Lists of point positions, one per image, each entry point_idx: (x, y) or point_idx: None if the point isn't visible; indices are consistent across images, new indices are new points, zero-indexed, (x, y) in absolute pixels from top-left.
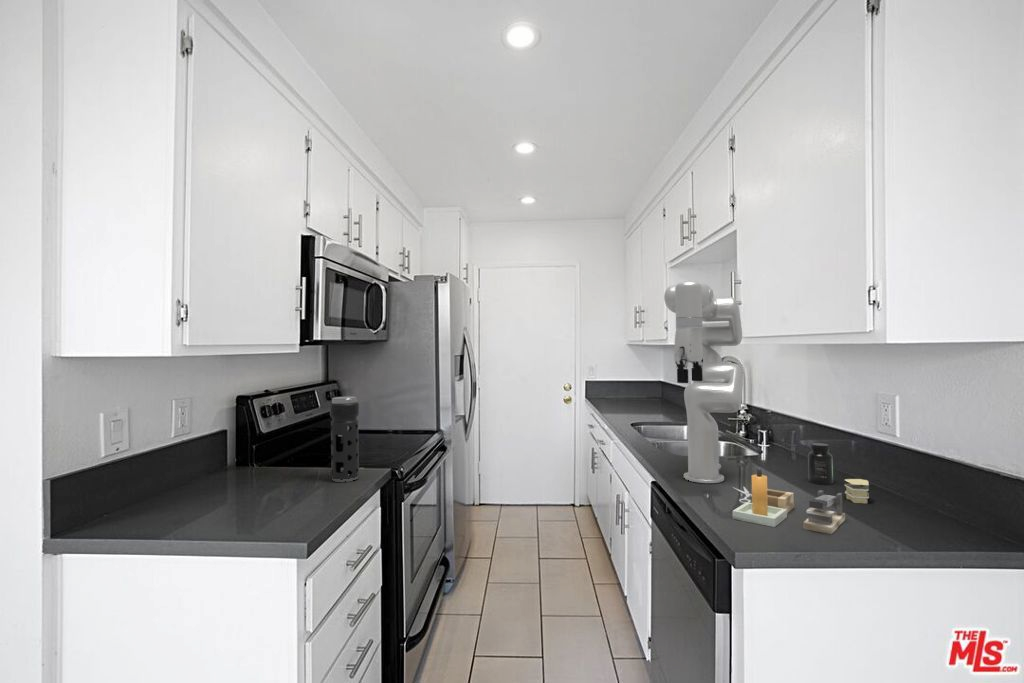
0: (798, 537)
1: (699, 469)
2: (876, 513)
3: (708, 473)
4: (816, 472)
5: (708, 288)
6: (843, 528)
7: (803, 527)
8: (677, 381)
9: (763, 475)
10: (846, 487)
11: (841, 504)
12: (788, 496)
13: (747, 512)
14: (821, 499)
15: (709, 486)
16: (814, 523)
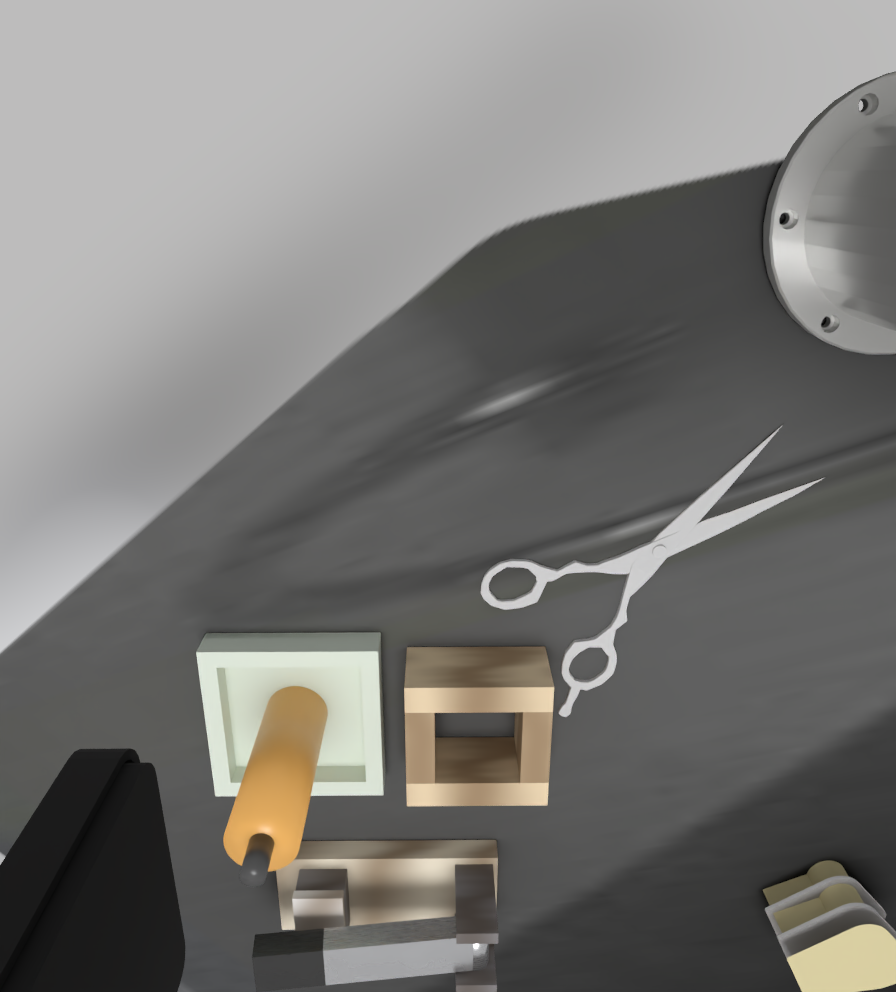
0: (173, 850)
1: (833, 239)
2: (645, 958)
3: (835, 294)
4: None
5: None
6: None
7: None
8: (69, 766)
9: (291, 852)
10: (841, 902)
11: None
12: (468, 805)
13: (219, 703)
14: (336, 967)
15: (718, 327)
16: (290, 886)
